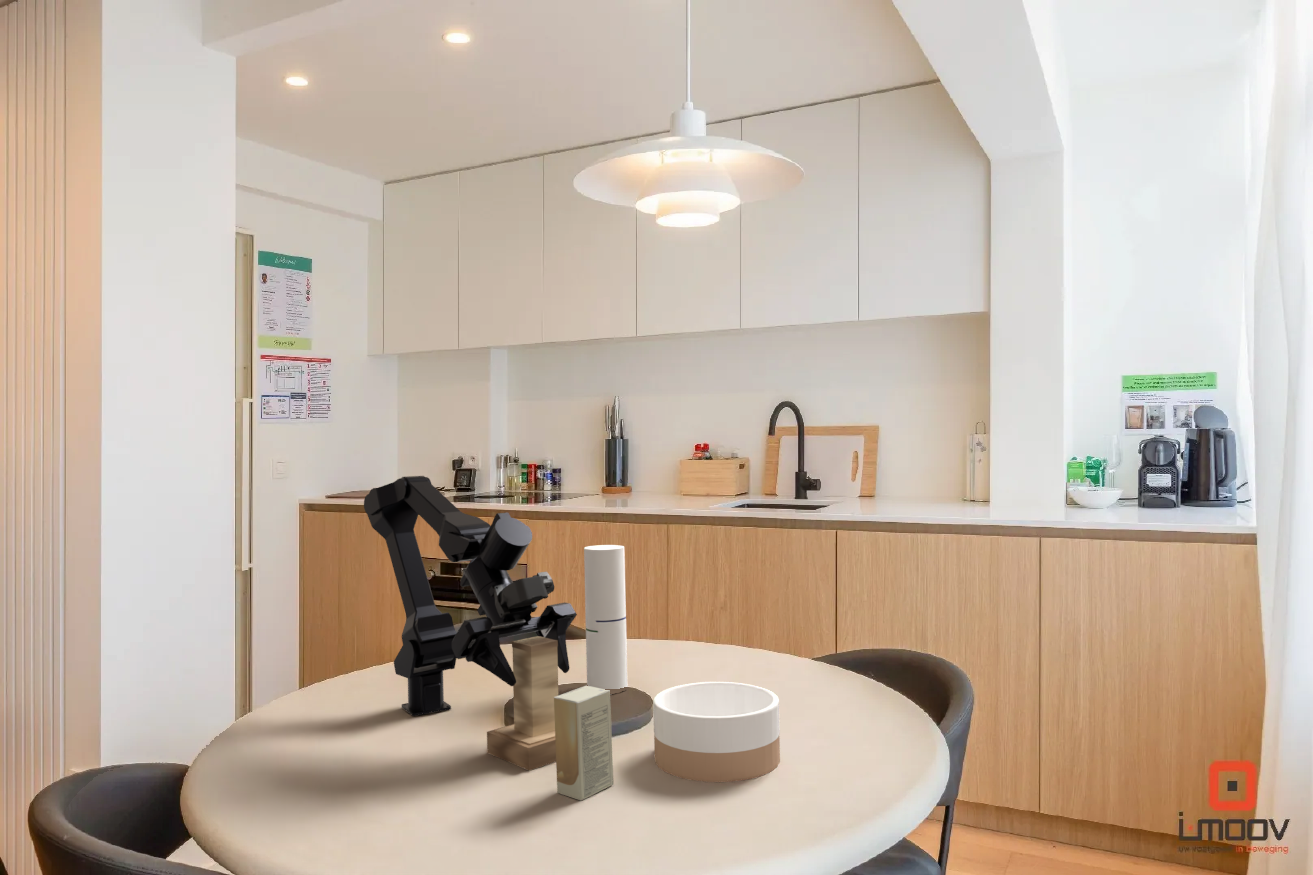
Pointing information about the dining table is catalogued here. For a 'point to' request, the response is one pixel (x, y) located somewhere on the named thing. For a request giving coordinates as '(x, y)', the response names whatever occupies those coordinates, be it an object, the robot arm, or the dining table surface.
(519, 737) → the plinth
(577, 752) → the skincare box
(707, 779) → the bowl
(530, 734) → the oak block
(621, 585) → the cylindrical container
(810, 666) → the dining table surface
